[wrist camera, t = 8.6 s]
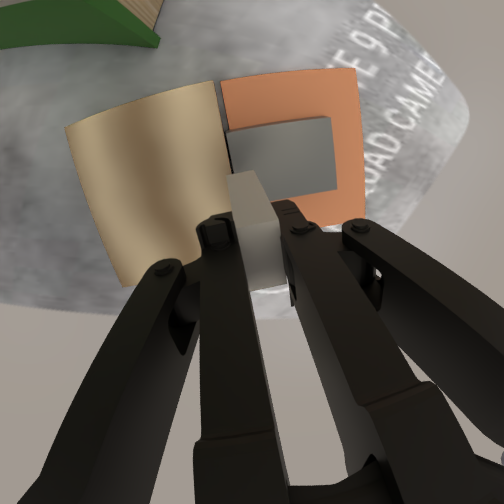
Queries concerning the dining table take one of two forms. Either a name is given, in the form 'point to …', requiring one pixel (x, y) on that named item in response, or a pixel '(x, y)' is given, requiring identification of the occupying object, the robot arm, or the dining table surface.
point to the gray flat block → (287, 156)
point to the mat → (302, 106)
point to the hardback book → (78, 22)
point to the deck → (153, 175)
